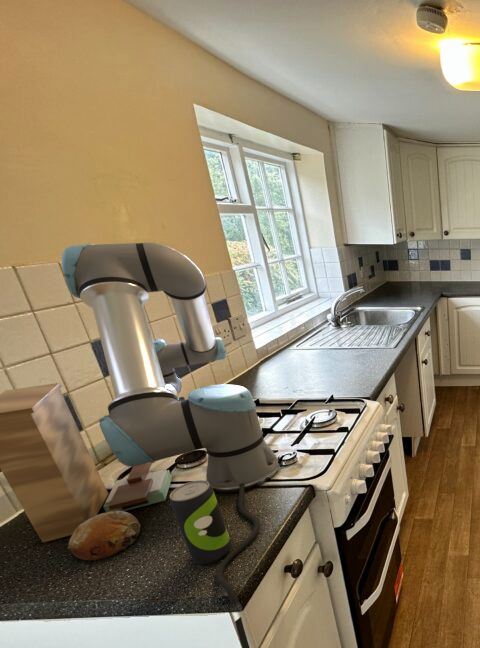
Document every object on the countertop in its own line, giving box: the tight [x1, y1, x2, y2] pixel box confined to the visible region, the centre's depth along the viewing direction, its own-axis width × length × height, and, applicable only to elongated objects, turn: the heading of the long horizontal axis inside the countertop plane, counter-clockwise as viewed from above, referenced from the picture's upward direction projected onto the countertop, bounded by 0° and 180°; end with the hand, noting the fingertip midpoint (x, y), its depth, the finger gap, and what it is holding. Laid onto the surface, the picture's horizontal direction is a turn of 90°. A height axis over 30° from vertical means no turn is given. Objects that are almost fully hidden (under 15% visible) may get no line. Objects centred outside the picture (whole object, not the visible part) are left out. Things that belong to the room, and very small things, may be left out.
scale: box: [102, 469, 173, 513], centre depth 94 cm, size 10×10×3 cm
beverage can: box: [169, 479, 232, 565], centre depth 76 cm, size 6×6×15 cm
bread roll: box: [68, 511, 141, 561], centre depth 81 cm, size 10×10×8 cm
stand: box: [0, 382, 109, 544], centre depth 83 cm, size 14×8×28 cm, turn 30°
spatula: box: [108, 463, 153, 510], centre depth 96 cm, size 22×6×2 cm, turn 30°
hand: (144, 428), depth 106 cm, fingers open, 13 cm apart
